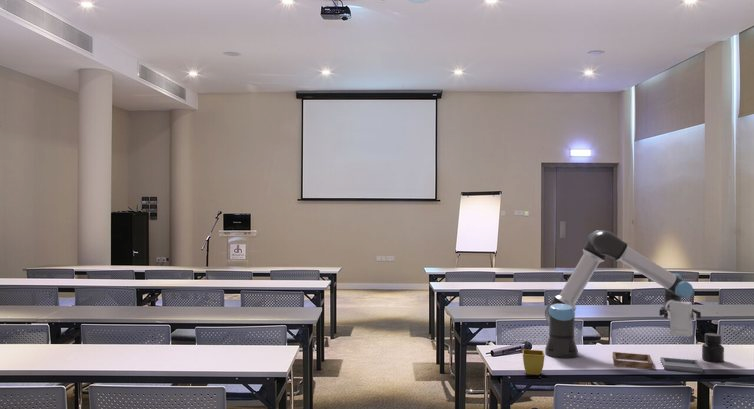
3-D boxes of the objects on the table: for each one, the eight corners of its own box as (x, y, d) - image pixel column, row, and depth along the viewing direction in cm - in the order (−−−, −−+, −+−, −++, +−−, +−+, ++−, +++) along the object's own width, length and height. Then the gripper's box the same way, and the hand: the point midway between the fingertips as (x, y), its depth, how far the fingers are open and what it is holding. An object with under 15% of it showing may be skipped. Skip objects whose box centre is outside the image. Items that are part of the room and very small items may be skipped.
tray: (664, 369, 267) (664, 364, 267) (660, 361, 281) (660, 357, 281) (702, 372, 262) (702, 368, 262) (696, 364, 276) (696, 360, 276)
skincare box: (693, 335, 271) (693, 302, 271) (689, 337, 266) (689, 303, 266) (672, 332, 276) (673, 300, 277) (668, 334, 272) (669, 301, 272)
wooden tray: (614, 365, 272) (614, 360, 272) (612, 357, 288) (612, 351, 288) (653, 369, 267) (653, 363, 267) (649, 360, 283) (649, 354, 283)
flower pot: (544, 376, 253) (544, 355, 253) (522, 375, 255) (523, 354, 255) (543, 371, 261) (543, 350, 262) (522, 370, 263) (522, 349, 263)
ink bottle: (729, 362, 280) (729, 336, 280) (712, 363, 278) (712, 337, 278) (713, 357, 290) (713, 332, 290) (697, 358, 288) (697, 332, 288)
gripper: (701, 318, 285) (710, 326, 264) (649, 315, 292) (654, 323, 271) (701, 302, 285) (710, 309, 264) (649, 299, 292) (654, 306, 271)
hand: (682, 316), depth 267 cm, fingers closed on skincare box, 9 cm apart
